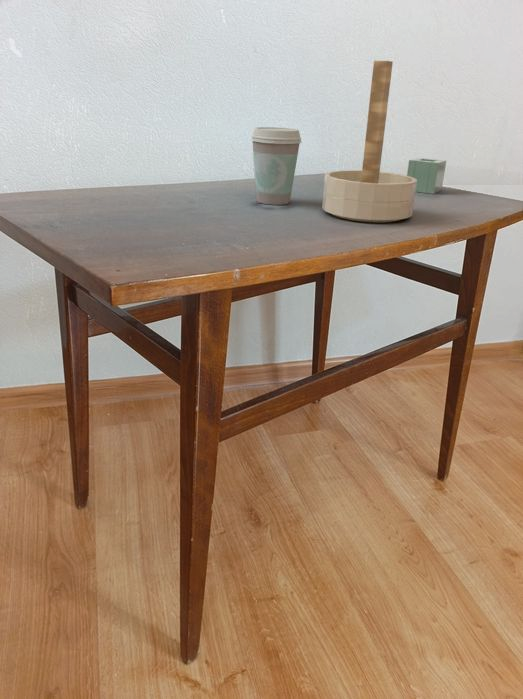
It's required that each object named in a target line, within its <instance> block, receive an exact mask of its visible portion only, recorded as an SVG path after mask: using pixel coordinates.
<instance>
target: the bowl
mask: <svg viewBox="0 0 523 699" xmlns="http://www.w3.org/2000/svg"><path fill="white" fill-rule="evenodd" d="M361 176H362V169H361V170H360V169H359V170H358V169H348V170H347V169H346V170H344V169H343V170H333V171H328V172H326V173H325V174H324V181H323V193H322V194H323V195H322V205H321V209H322V210H323V211H324V212H326V213H328V214H331V215H332V216H334V217H336V218H339V219H344V220H348V221H355V222H363V223H392V222H398V221H401V220H405V219H408V218H411V217H412V216H413V210H414V204H415V199H416V198H415V197H416V192H415V191H416V184H417V179H415V178H413V177H410V176H407V174H400V173H394V172H385V171H380V173H379V181H378V183H367V182H361Z"/></svg>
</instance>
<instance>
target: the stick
mask: <svg viewBox="0 0 523 699" xmlns="http://www.w3.org/2000/svg"><path fill="white" fill-rule="evenodd" d="M393 63H394V61H392V60H373V65H372V75H371V84H370V93H369V104H368V113H367V122H366V130H365V139H364V148H363V149H364V150H363V159H362V168H361V171H362V176H361V182H367V183H378V181H379V173H380V172H381V165H382V162H381V161H382V155H383V147H384V139H385V130H386V122H387V113H388V106H389V97H390V88H391V79H392V72H393Z"/></svg>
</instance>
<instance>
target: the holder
mask: <svg viewBox="0 0 523 699" xmlns="http://www.w3.org/2000/svg"><path fill="white" fill-rule="evenodd" d="M446 165H447V159H437V158H436V159H435V158H427V157H426V158H424V157H416V158H412V159H409V160H408V165H407V171H406V176H410V177H413V178H415V179H417V184H416V191H415V193H423V194H428V195H429V194H431V195H434V194H437V193H439V192H441V191H442V190H443V185H444V178H445V172H446Z"/></svg>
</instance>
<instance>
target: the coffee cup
mask: <svg viewBox="0 0 523 699" xmlns="http://www.w3.org/2000/svg"><path fill="white" fill-rule="evenodd" d="M250 141H251V142H252V153H253V155H252V156H253V157H252V158H253V169H254V182H255V183H254V184H255V197H256V202H257V203H259V204H263V205H271V206H283V205H289V204H290V202H291V198H292V197H291V196H292V192H293V191H292V190H293V185H294V180H295V174H296V168H297V162H298V156H299V150H300V144H302V137H301V133H300V130H299V129H296V128H289V127H274V126H272V127H271V126H270V127H269V126H259V127H258V126H257V127H254V129H253V133H252V135H251V139H250Z"/></svg>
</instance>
